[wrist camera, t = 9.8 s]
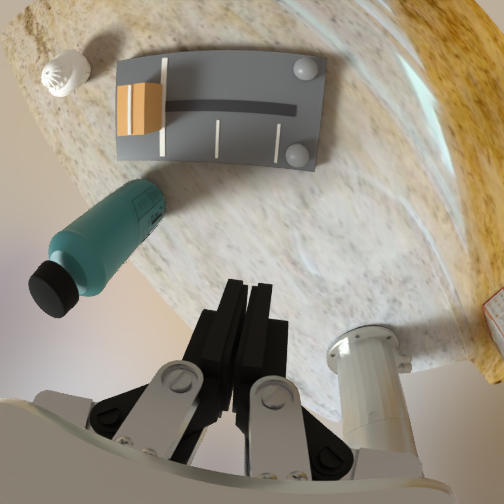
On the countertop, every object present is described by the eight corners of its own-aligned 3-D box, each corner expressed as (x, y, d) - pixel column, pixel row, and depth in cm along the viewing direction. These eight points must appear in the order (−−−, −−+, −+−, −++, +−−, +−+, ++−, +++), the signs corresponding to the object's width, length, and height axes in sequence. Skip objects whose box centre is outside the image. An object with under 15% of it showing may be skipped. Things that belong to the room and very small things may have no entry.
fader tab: (162, 83, 23) (143, 82, 20) (161, 129, 26) (143, 134, 22) (137, 86, 24) (116, 86, 20) (136, 130, 26) (116, 136, 22)
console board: (323, 61, 23) (329, 55, 20) (312, 167, 29) (316, 175, 26) (125, 62, 24) (109, 60, 21) (125, 157, 30) (110, 164, 27)
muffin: (108, 59, 24) (71, 56, 18) (86, 101, 27) (49, 107, 21) (78, 45, 22) (42, 42, 16) (59, 85, 25) (23, 89, 19)
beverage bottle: (124, 172, 31) (4, 253, 14) (173, 175, 31) (61, 270, 14) (128, 219, 34) (30, 320, 17) (173, 225, 34) (87, 343, 17)
